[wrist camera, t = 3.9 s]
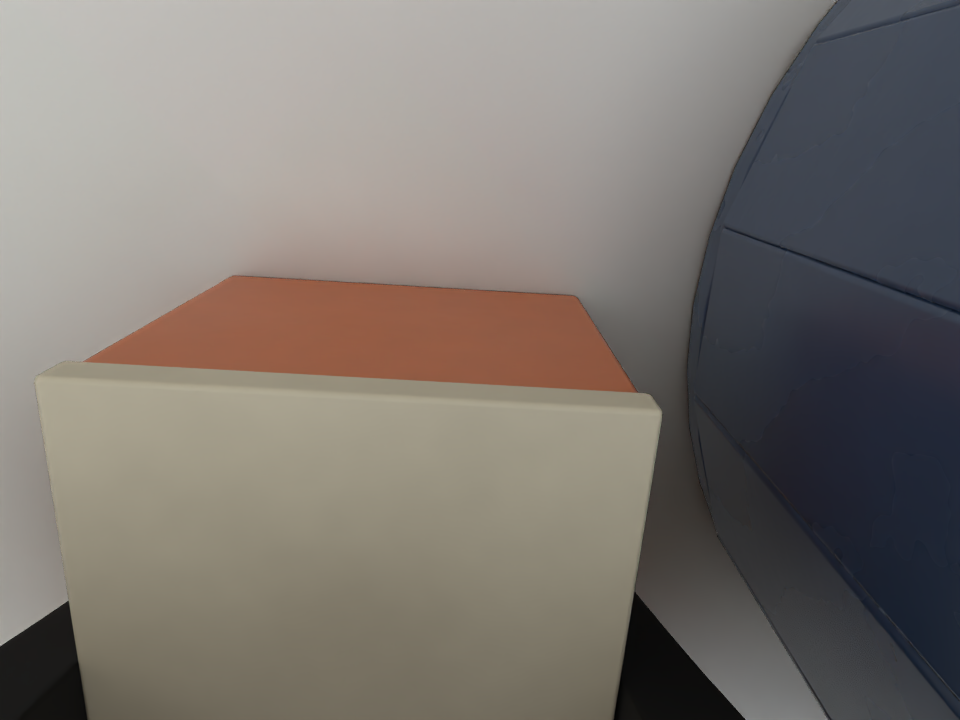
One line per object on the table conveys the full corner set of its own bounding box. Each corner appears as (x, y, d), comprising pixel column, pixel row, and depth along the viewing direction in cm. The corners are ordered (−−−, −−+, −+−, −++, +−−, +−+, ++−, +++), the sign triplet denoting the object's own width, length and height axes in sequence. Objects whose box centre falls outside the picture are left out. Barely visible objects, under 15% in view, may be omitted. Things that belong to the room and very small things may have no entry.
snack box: (582, 291, 9) (666, 411, 5) (529, 763, 11) (557, 1080, 7) (225, 270, 9) (29, 376, 5) (254, 751, 11) (140, 1068, 7)
